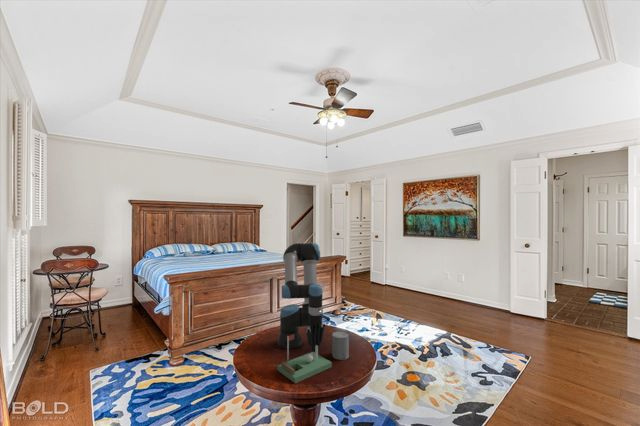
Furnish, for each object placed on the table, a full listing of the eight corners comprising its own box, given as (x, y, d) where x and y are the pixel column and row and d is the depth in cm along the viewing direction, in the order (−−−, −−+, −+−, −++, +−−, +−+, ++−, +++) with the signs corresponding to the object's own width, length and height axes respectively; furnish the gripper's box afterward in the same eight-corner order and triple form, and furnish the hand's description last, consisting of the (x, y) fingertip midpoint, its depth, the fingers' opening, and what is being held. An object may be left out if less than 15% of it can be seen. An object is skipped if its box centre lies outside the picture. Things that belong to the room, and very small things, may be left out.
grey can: (347, 360, 170) (348, 338, 170) (330, 358, 172) (331, 337, 172) (349, 352, 179) (349, 331, 179) (333, 351, 181) (333, 330, 181)
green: (277, 370, 159) (277, 338, 159) (312, 355, 175) (313, 327, 175) (295, 383, 147) (295, 349, 147) (331, 366, 163) (331, 336, 163)
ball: (304, 361, 163) (304, 354, 163) (309, 359, 166) (309, 352, 166) (308, 364, 160) (308, 357, 160) (314, 362, 163) (314, 354, 163)
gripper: (310, 318, 158) (310, 363, 158) (328, 312, 167) (328, 355, 167) (301, 314, 164) (301, 358, 164) (319, 309, 172) (319, 351, 173)
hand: (315, 357), depth 165 cm, fingers closed
